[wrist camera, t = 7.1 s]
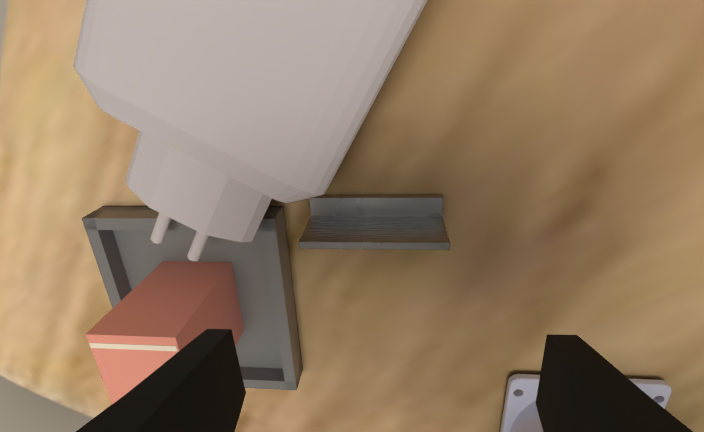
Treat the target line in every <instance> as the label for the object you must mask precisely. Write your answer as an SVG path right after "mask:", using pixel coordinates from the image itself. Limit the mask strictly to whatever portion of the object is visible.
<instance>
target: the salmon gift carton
mask: <svg viewBox="0 0 704 432" xmlns="http://www.w3.org/2000/svg"><path fill="white" fill-rule="evenodd" d="M207 329H232V334H233V338H234V343H235V346H236V345H237V343H238V341H239V339H240V337H241V335H242V333H243V331H244V326H243V321H242V316H241V310H240V305H239V299H238V294H237V289H236V283H235V278H234V272H233V267H232V262H191V261H163V262H162V263H161V264H159V265H158V266H157V267H156V268H155V269H154V270H153V271H152V272H151V273H150V274H149V275H148V276H147V277H146V278H145V279H144V280H143V281H141V282H140V283H139V284H138V285H137V286H136V287H135V288H134V289H133V290H132V291H131V292H130V293H129V294H128V295H127V296H126V297H124V298H123V299H122V300H121V301H120V302H119V303H118V304H117V305H116V306H115V307H114V308H113V309H112V310H111V311H110V312H109V313H108V314H106V315H105V316H104V317H103V318H102V319H101V320H100V321H99V322H98V323H97V324H96V325H95V326H94V327H93V328H92V329H91V330H89V331H88V332H87V333H86V334H85V335H86V337H87V340H88V342H89V345H90V347H91V350H92V353H93V355H94V358H95V360H96V363H97V365H98V368H99V371H100V373H101V376H102V378H103V381H104V384H105V386H106V389H107V391H108V394H109V396H110V399H111V402H112V404H114V403H115V402H116V401H118V400H119V399H120V398H122V397H123V396H124V395H125V394H127V393H128V392H129V391H130V390H132V389H133V388H134V387H135V386H137V385H138V384H139V383H140V382H142V381H143V380H144V379H145V378H147V377H148V376H149V375H150V374H152V373H153V372H154V371H155V370H157V369H158V368H159V367H160V366H162V365H163V364H164V363H165V362H166V361H168V360H169V359H170V358H171V357H173V356H174V355H175V354H176V353H177V352H179V351H180V350H181V349H182V348H184V347H185V346H186V345H187V344H188V343H190V342H191V341H192V340H193V339H195V338H196V337H197V336H199V335H200V334H201V333H203V332H204V331H205V330H207Z"/></svg>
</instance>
